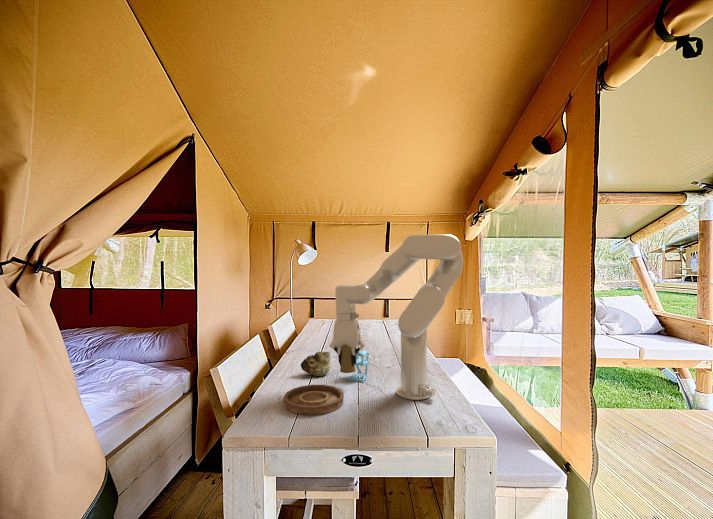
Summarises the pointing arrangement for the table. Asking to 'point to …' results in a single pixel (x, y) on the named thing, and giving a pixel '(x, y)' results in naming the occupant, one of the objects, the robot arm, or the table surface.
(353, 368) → the cork
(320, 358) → the seashell
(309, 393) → the ring tray
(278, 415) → the table surface
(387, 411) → the table surface
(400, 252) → the robot arm
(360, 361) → the chair
